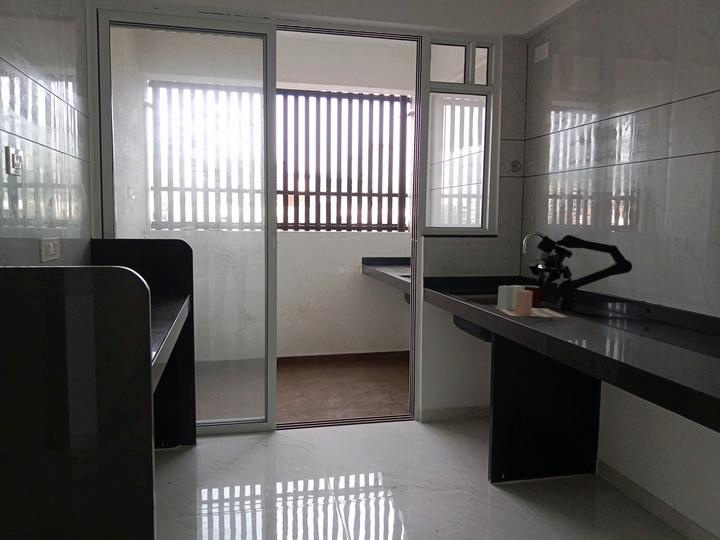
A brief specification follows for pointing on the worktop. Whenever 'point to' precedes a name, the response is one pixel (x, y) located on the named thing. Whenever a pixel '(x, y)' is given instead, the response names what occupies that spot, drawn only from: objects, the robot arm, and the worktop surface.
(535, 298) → the mug
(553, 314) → the maple board
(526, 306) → the terracotta block
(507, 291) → the sage block
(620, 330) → the worktop surface
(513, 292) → the cream block
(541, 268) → the robot arm
